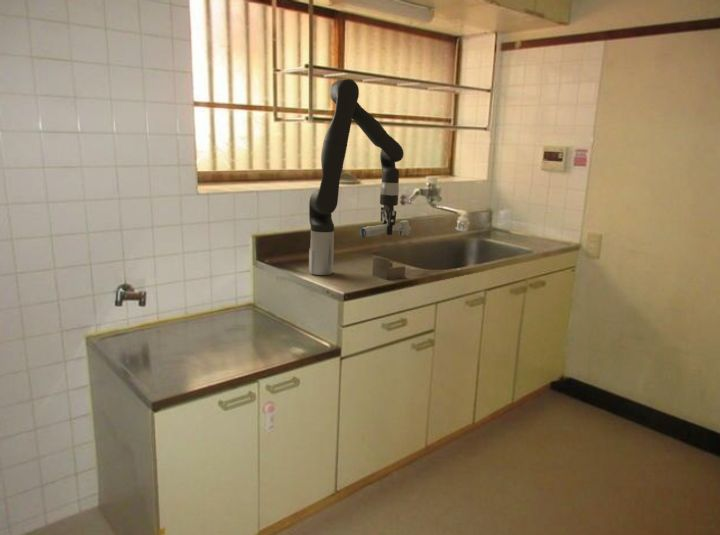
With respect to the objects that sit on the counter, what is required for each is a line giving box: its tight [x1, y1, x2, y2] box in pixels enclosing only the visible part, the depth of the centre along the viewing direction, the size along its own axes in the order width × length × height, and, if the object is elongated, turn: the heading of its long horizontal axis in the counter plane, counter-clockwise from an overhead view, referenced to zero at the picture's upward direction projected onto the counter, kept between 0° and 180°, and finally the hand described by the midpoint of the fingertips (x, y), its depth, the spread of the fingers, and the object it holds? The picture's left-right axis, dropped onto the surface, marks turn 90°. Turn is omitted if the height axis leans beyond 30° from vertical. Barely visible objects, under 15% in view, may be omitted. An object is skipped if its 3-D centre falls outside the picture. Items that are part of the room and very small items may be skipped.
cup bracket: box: [371, 255, 406, 281], centre depth 214 cm, size 9×9×8 cm
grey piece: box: [359, 220, 412, 238], centre depth 225 cm, size 5×7×25 cm
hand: (386, 233), depth 225 cm, fingers closed on grey piece, 6 cm apart
